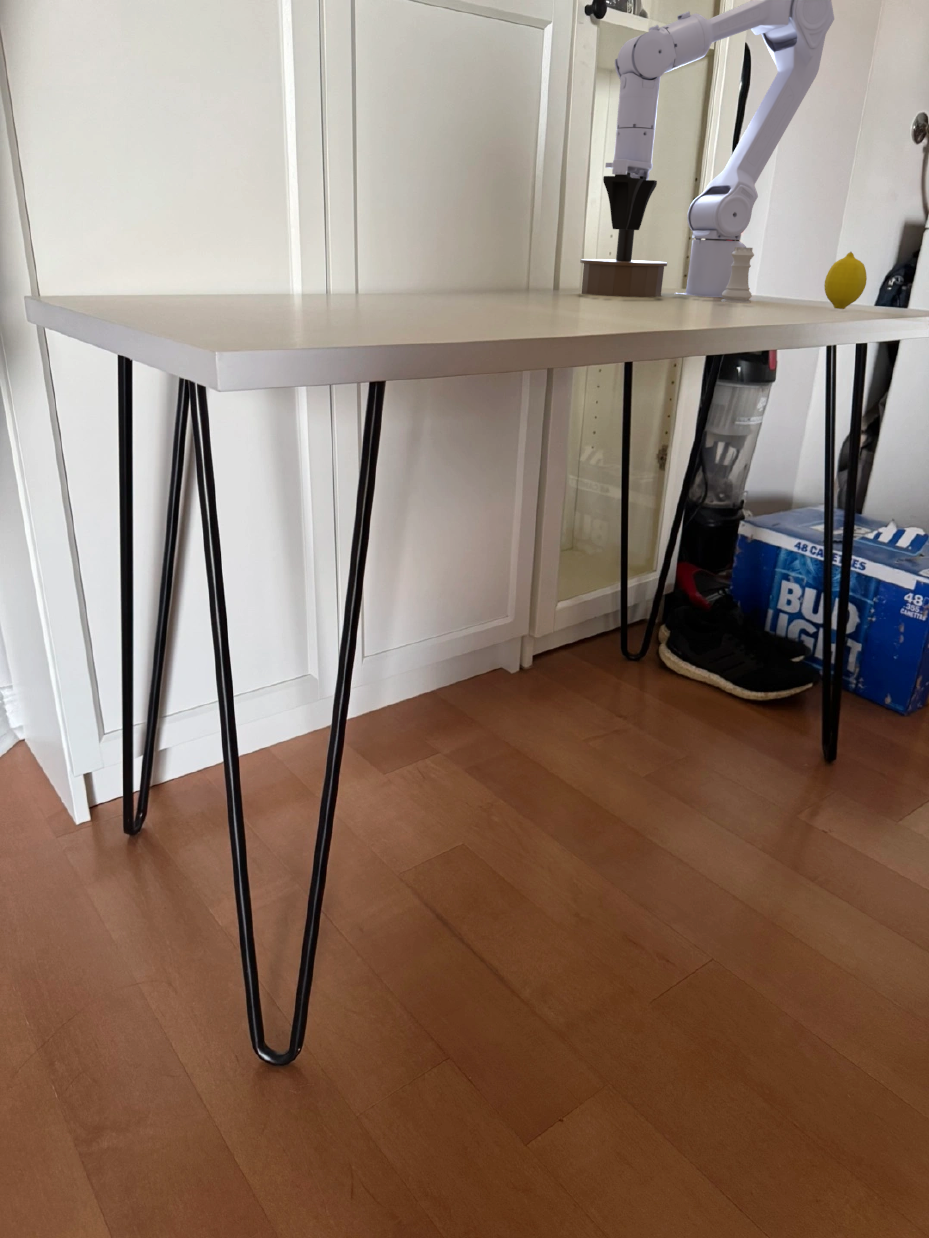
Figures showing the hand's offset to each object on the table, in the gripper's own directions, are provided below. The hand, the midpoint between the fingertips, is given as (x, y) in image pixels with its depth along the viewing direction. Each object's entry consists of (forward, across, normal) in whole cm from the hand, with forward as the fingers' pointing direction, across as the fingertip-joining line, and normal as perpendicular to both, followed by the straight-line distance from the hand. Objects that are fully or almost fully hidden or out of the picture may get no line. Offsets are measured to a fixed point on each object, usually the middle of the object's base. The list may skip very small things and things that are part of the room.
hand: (626, 230), depth 137 cm
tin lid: (+5, 0, 0) cm, 5 cm away
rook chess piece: (+10, +3, +18) cm, 21 cm away
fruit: (+10, 0, +33) cm, 35 cm away
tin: (+10, 0, 0) cm, 10 cm away
